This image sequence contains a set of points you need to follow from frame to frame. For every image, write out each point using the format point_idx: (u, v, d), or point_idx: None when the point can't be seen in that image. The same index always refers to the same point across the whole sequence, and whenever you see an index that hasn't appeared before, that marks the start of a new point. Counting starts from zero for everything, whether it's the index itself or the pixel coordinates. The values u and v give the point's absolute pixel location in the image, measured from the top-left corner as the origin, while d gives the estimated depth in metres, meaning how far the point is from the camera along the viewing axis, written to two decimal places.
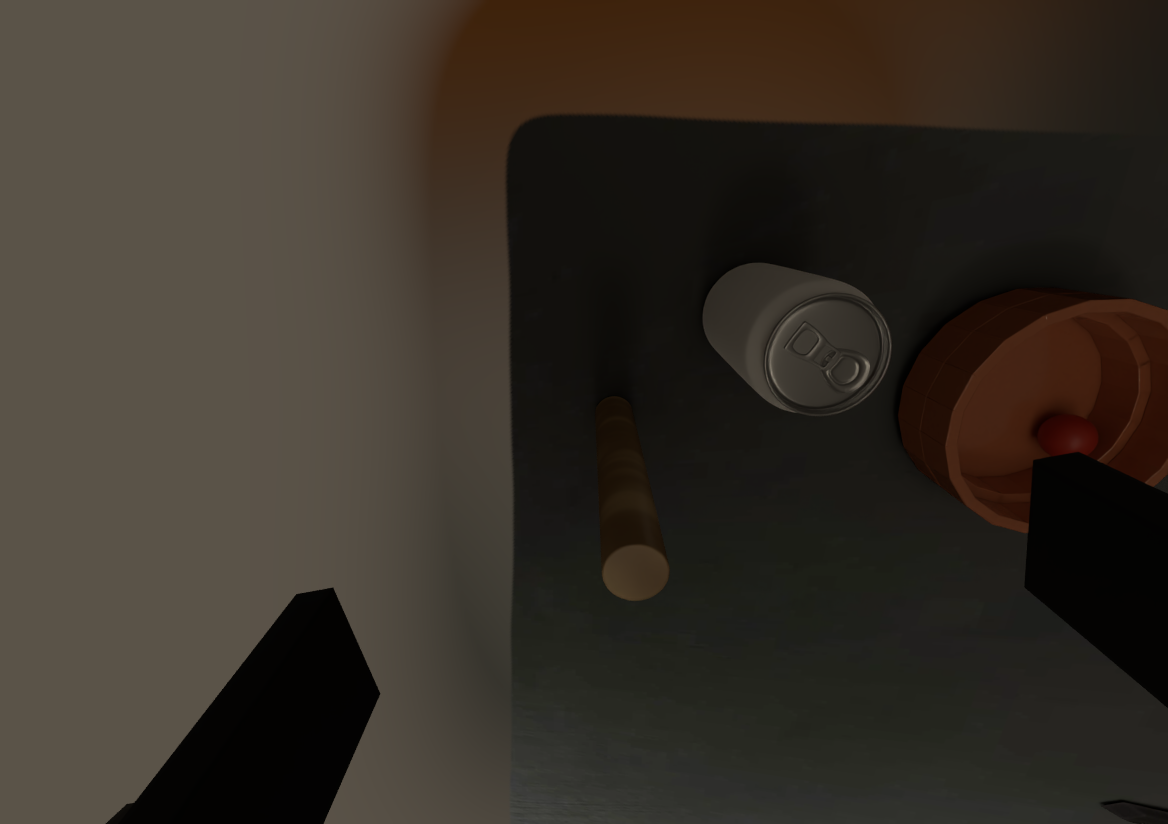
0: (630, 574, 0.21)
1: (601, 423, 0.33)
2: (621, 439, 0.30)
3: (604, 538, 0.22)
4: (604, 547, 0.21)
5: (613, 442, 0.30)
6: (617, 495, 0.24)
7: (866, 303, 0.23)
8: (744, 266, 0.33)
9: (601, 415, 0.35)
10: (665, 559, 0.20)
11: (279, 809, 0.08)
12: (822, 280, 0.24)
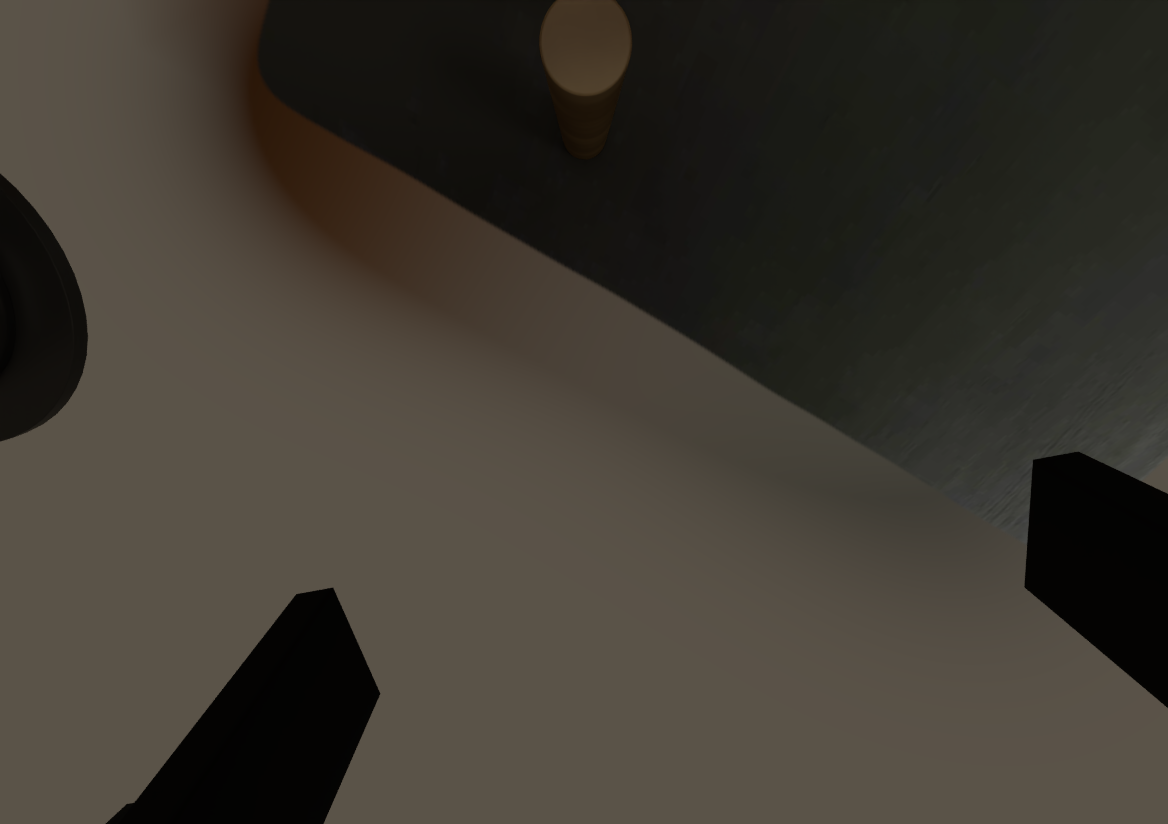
0: (583, 51, 0.15)
1: (561, 134, 0.28)
2: None
3: (551, 86, 0.17)
4: (551, 83, 0.16)
5: None
6: None
7: None
8: None
9: None
10: None
11: (279, 809, 0.08)
12: None
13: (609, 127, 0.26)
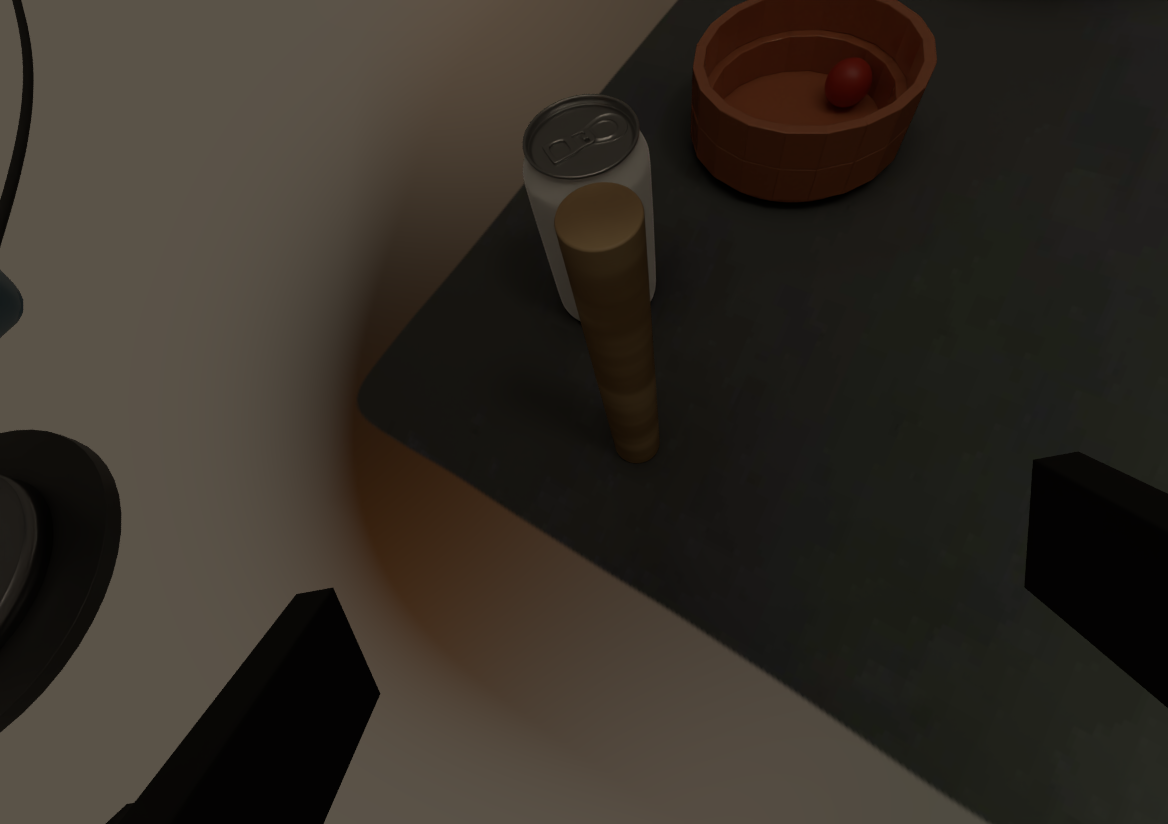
0: (595, 220, 0.15)
1: (608, 421, 0.28)
2: None
3: (569, 272, 0.17)
4: (566, 260, 0.16)
5: None
6: None
7: (553, 105, 0.27)
8: None
9: (611, 431, 0.29)
10: (599, 182, 0.16)
11: (279, 809, 0.08)
12: None
13: (653, 399, 0.25)
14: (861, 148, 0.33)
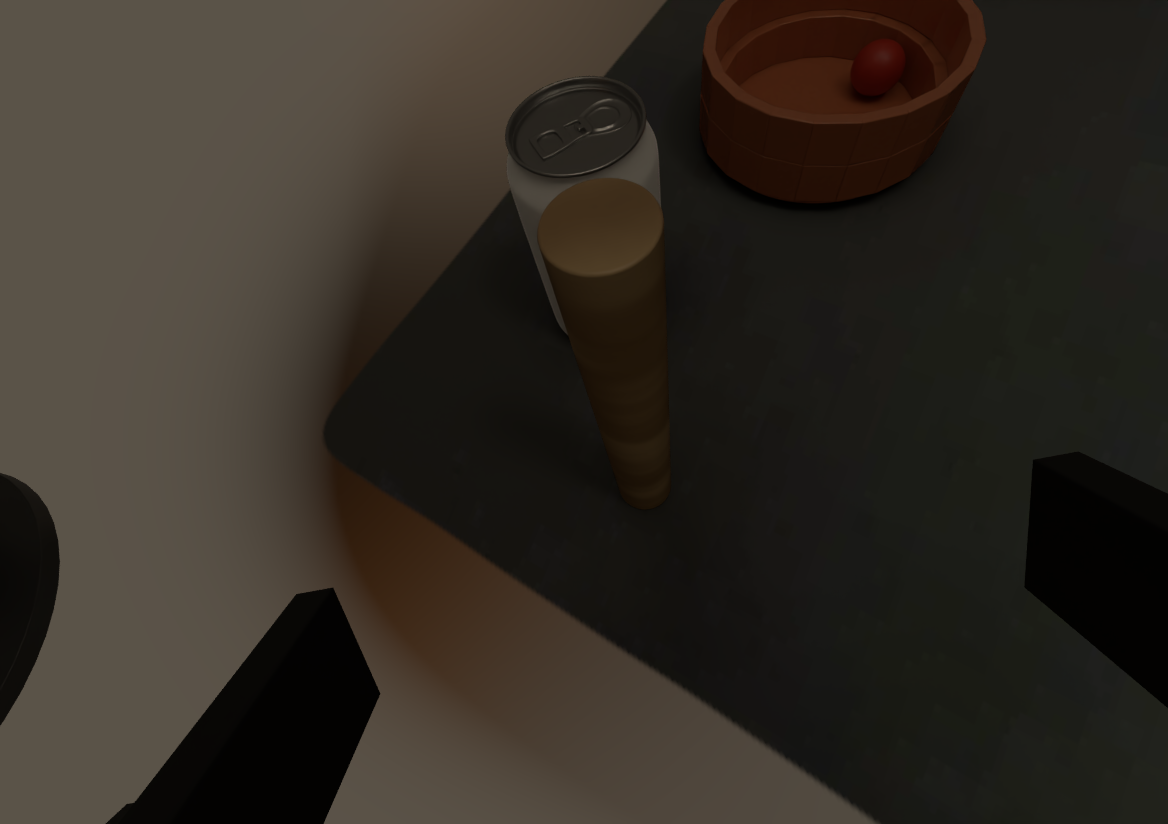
0: (595, 231, 0.11)
1: None
2: None
3: (560, 302, 0.12)
4: (555, 286, 0.12)
5: None
6: None
7: (542, 89, 0.22)
8: None
9: None
10: (599, 179, 0.11)
11: (279, 809, 0.08)
12: None
13: (666, 444, 0.20)
14: (900, 140, 0.28)
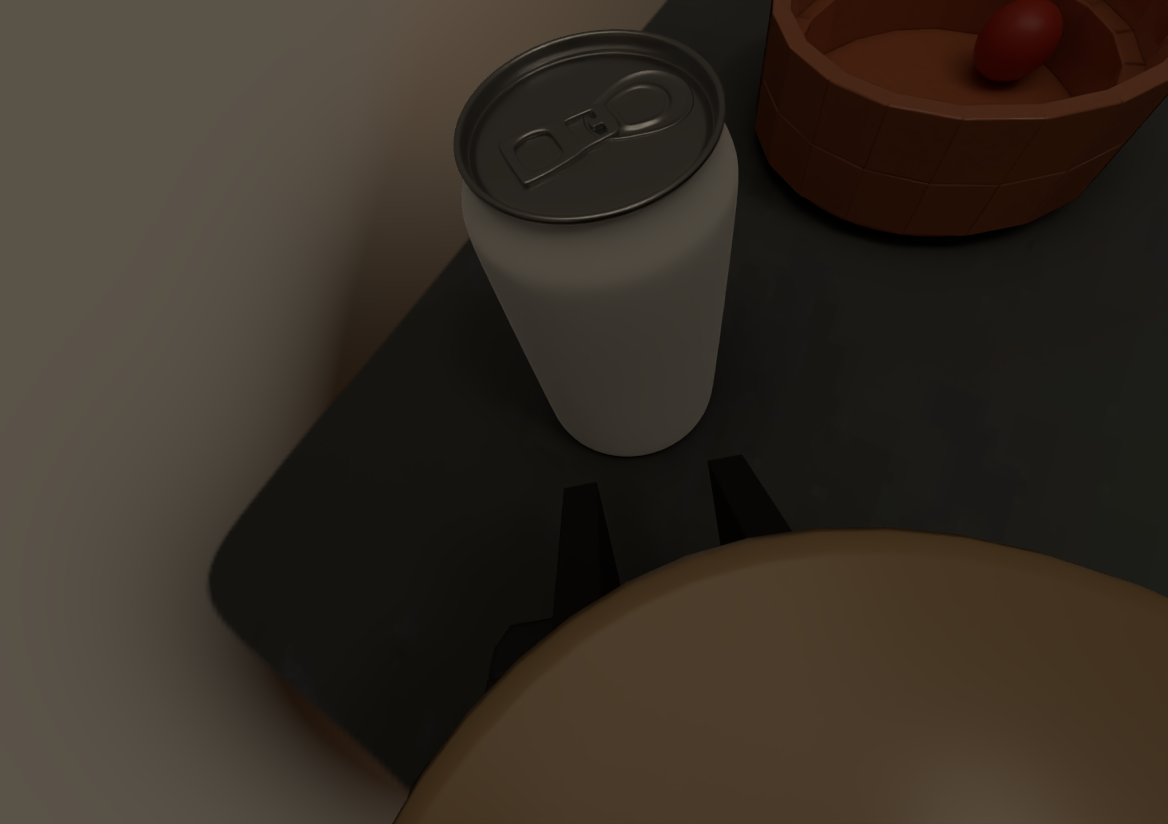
0: None
1: None
2: None
3: None
4: None
5: None
6: None
7: (524, 55, 0.12)
8: None
9: None
10: (861, 537, 0.01)
11: None
12: None
13: None
14: (1091, 146, 0.18)
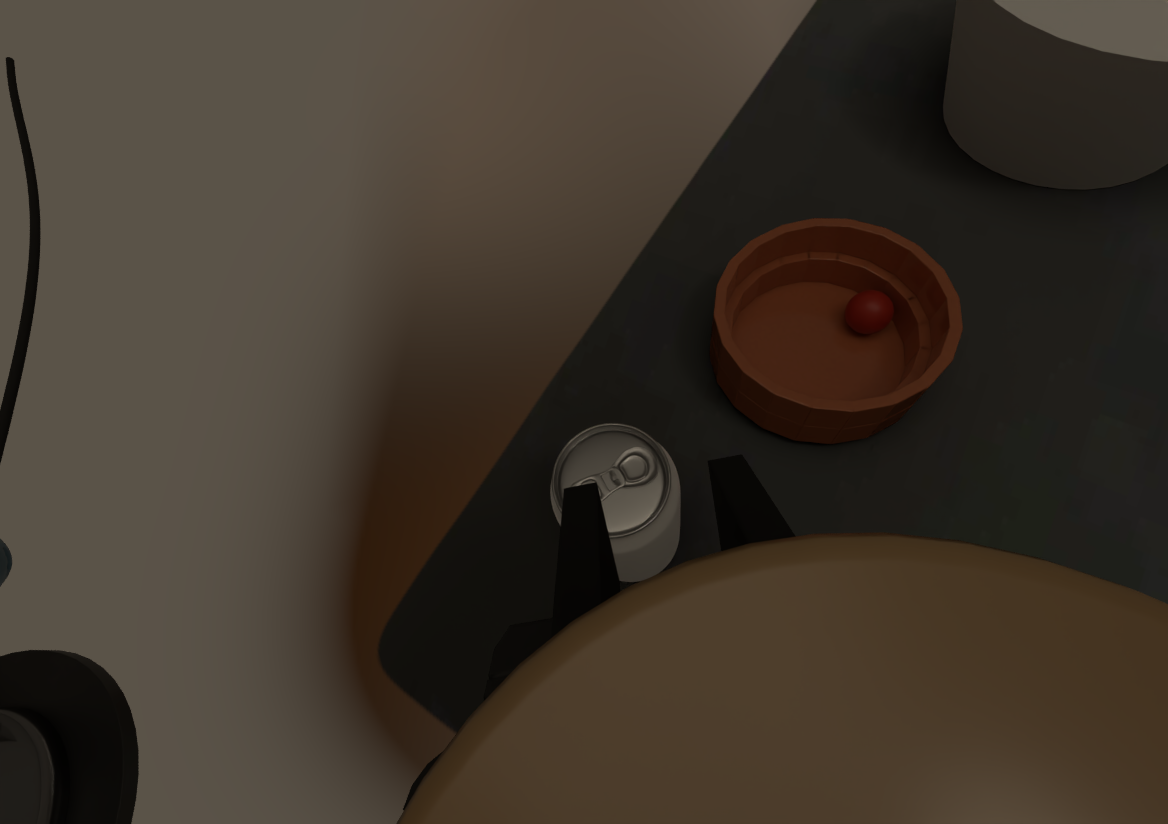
0: None
1: None
2: None
3: None
4: None
5: None
6: None
7: (581, 433, 0.26)
8: None
9: None
10: (863, 543, 0.01)
11: None
12: None
13: None
14: (887, 415, 0.32)
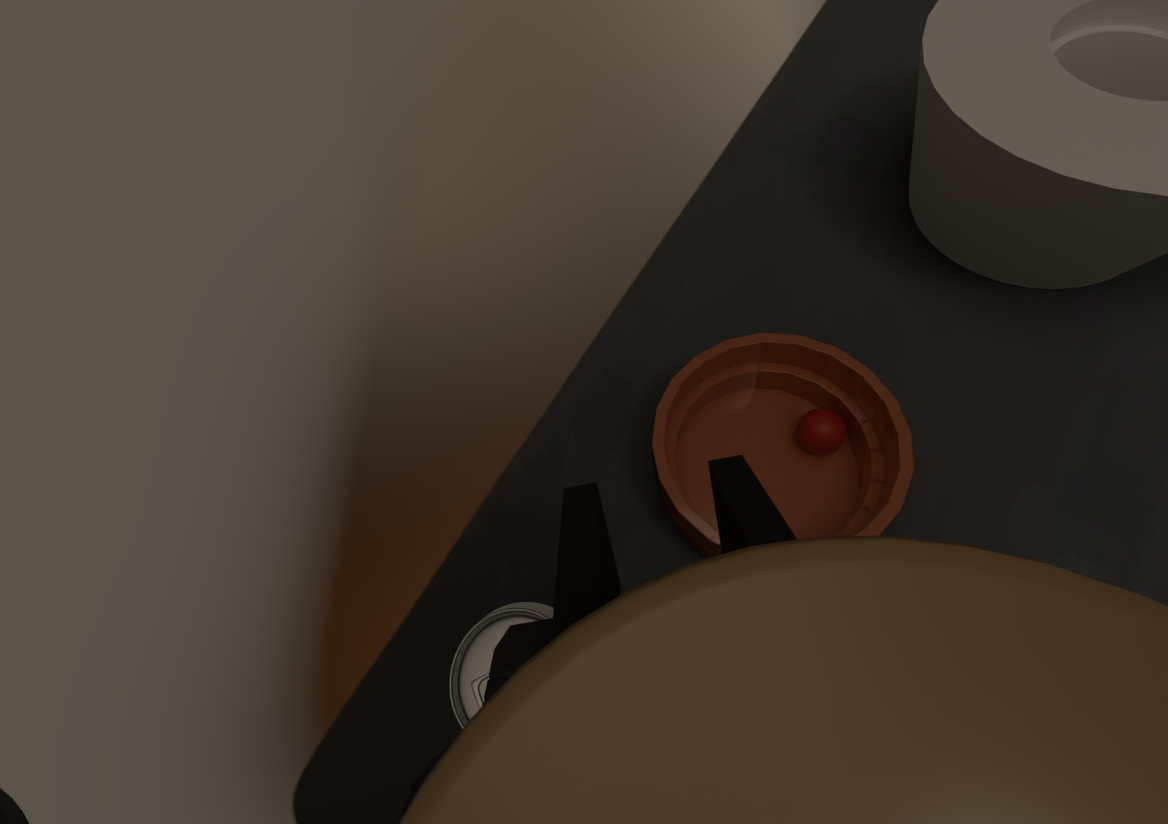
0: None
1: None
2: None
3: None
4: None
5: None
6: None
7: (484, 620, 0.24)
8: None
9: None
10: (865, 546, 0.01)
11: None
12: None
13: None
14: None
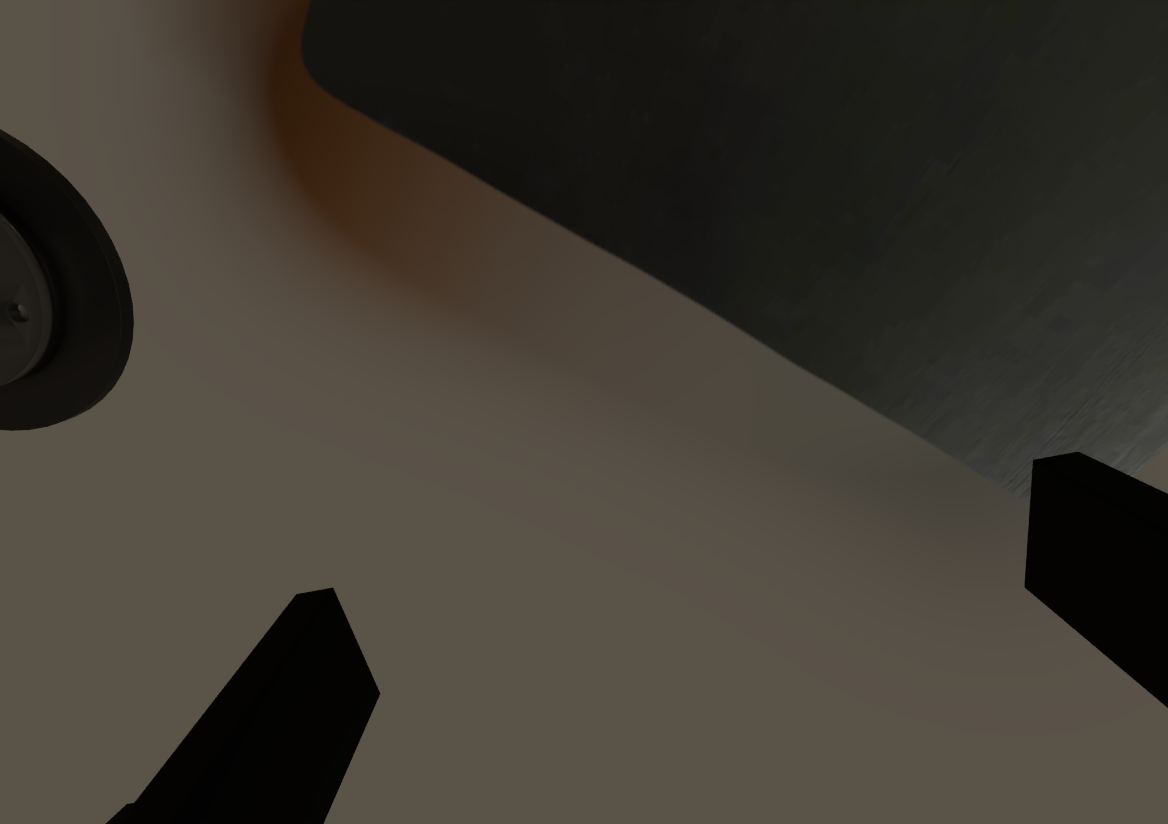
0: None
1: None
2: None
3: None
4: None
5: None
6: None
7: None
8: None
9: None
10: None
11: (279, 809, 0.08)
12: None
13: None
14: None
